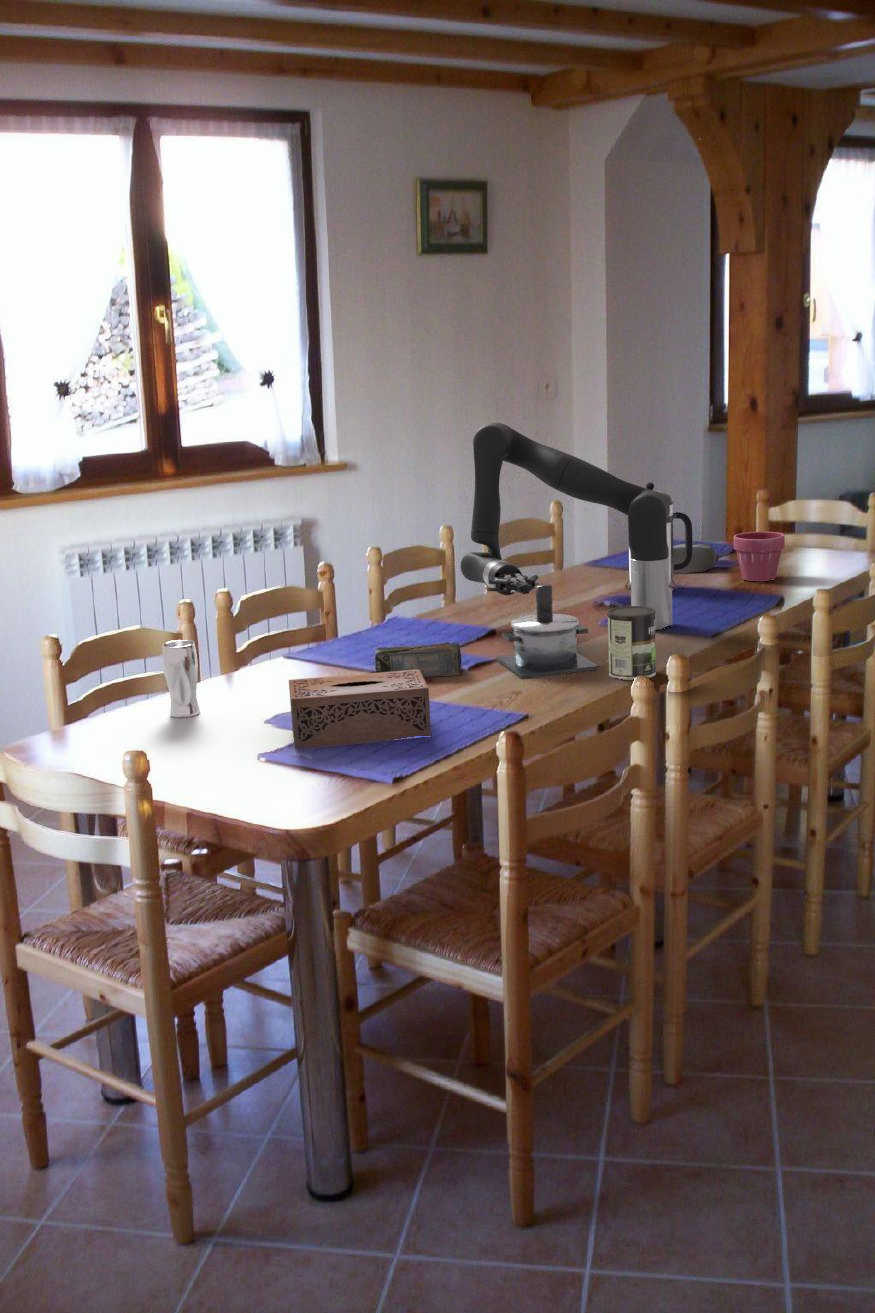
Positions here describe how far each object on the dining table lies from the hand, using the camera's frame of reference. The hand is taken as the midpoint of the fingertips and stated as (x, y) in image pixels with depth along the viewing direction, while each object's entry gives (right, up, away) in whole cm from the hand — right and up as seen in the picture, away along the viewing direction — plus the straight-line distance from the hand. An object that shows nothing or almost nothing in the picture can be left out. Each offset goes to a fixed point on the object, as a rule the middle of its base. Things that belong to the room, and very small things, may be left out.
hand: (526, 589), depth 319 cm
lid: (+4, -8, -10) cm, 14 cm away
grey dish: (+53, +10, +93) cm, 108 cm away
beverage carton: (-25, -20, -10) cm, 33 cm away
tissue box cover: (-35, -31, -51) cm, 69 cm away
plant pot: (+71, +6, +73) cm, 102 cm away
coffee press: (+40, +3, +68) cm, 79 cm away
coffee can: (+22, -20, -20) cm, 35 cm away
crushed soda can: (-73, -28, -33) cm, 84 cm away
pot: (+4, -17, -8) cm, 20 cm away
